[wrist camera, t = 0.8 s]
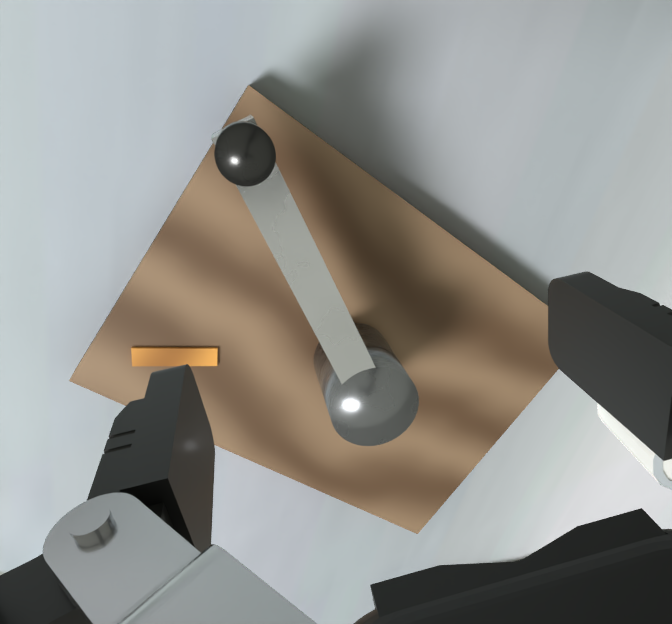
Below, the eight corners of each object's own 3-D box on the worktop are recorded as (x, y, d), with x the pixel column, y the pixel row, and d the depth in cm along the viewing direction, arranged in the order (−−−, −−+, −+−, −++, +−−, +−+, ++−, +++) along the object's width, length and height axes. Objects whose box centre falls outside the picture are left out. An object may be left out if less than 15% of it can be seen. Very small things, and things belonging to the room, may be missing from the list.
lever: (399, 370, 36) (444, 441, 28) (333, 403, 36) (360, 483, 28) (272, 95, 28) (288, 97, 21) (186, 138, 28) (172, 155, 21)
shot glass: (620, 447, 45) (686, 506, 39) (573, 408, 42) (635, 464, 36) (682, 388, 44) (760, 439, 37) (637, 344, 41) (713, 391, 35)
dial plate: (248, 85, 29) (249, 85, 28) (574, 326, 39) (589, 336, 38) (75, 368, 33) (68, 382, 32) (411, 520, 43) (418, 535, 42)
